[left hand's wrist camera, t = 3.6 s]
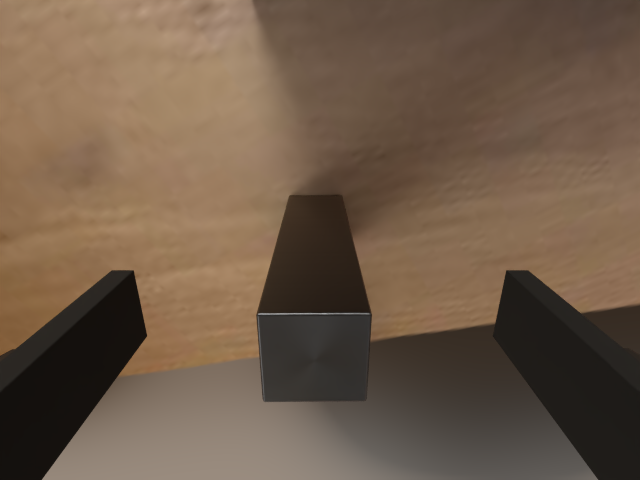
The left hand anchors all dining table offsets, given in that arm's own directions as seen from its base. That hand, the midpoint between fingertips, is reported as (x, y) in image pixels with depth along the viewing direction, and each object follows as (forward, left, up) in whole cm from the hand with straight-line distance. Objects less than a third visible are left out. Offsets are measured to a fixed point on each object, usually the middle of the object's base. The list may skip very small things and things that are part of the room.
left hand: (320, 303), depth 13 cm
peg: (0, 0, -9) cm, 9 cm away
